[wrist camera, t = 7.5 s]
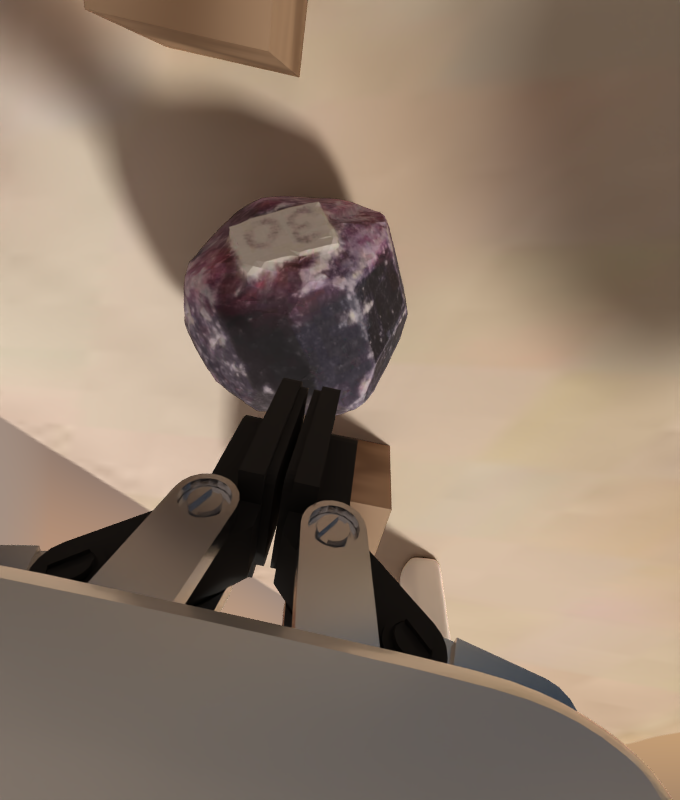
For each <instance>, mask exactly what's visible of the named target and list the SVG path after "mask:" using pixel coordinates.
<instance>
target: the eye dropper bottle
mask: <svg viewBox="0 0 680 800" xmlns="http://www.w3.org/2000/svg"><path fill="white" fill-rule="evenodd" d="M400 586H401V587H402V588H403V589H404V590H405V591H406V592H407V593H408V595H409V596H410V597H411V598H412V599H413V600H414V601H415V602H416V604H417V605H418V606H419V607H420V608H421V609H422V610H423V611H424V613H425V614H426V615H427V616H428V617H429V618H430V619H431V620H432V622H433V623H434V624H435V625H436V627H437V628H438V630H439V631H440V632H441V634H442V636H443V637H444V638H447V639H449V640H451V638H450V631H449V624H448V617H447V609H446V602H445V595H444V588H443V581H442V574H441V569H440V566H439V563H438V562H437V561H436V560H434V559H429V558H417V557H416V558H412V559H410V560H409V561H408V562H407V563H406V565H405V566H404V568H403V570H402V572H401V576H400Z"/></svg>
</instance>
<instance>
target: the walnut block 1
mask: <svg viewBox="0 0 680 800" xmlns="http://www.w3.org/2000/svg"><path fill="white" fill-rule="evenodd" d="M343 437H344V436H343ZM348 438H349V437H348ZM352 439H354V438H352ZM357 440H358V439H357ZM350 506H351V507H352V508H354V509H355V510H356V511H357V512H358V513H359V514H360V515H361V516H362V518H363V519H364V521H365V525H366V528H367V536H368V545H369V551H370V552H371V553H372V554H373V555H374V556H375V554H376V551H377V548H378V545H379V543H380V540H381V537H382V534H383V532H384V529H385V526H386V523H387V521H388V518H389V515H390V512H391V510H392V508H391V472H390V446H388V445H383V444H378V443H373V442H368V441H363V440H358V444H357V452H356V461H355V469H354V477H353V485H352V493H351V501H350Z"/></svg>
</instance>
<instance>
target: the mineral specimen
mask: <svg viewBox="0 0 680 800" xmlns="http://www.w3.org/2000/svg"><path fill="white" fill-rule="evenodd" d="M184 312H185V320H184V321H185V325H186V328H187V331H188V333H189V335H190V337H191V339H192V341H193V344H194V346H195V348H196V350H197V351H198V353H199V355H200V357H201V358H202V360H203V362H204V364H205V365H206V367H207V369H208V370H209V371H210V372H211V374H212V376H213V377H214V379H215V380H216V381H217V382H218V383H219V384H221V385H222V386H223V387H224V388H225V389H227V390H228V391H229V392H230V393H232V394H233V395H235V396H236V397H238V398H239V399H241V400H243V401H244V402H245V403H246V404H247V405H249V406H251V407H252V408H254V409H255V410H258V411H267V410H268V408H269V406H270V404H271V402H272V400H273V398H274V395H275V393H276V391H277V389H278V387H279V385H280V383H281V381H282V379H283V378H289V379H293V380H298V381H302V387H306V388H309V390H308V396H307V402H306V408H305V413H304V414H305V415H306V412H307V409H308V406H309V403H310V400H311V397H312V394H313V391H314V389H315V390H320V391H321V390H322V387H323V386H325V387H329V388H334V389H338V390H341V393H340V397H339V402H338V406H337V411H336V415H340V414H343V413H345V412H348V411H351V410H354V409H356V408H357V407H359V406H360V405H362V404H363V403H364V402H365V401H366V400H367V399H368V398H369V396H370V395H371V394H372V393H373V392H374V390H375V388H376V386H377V383H378V382H379V380H380V378H381V376H382V374H383V372H384V370H385V369H386V367H387V365H388V363H389V360H390V358H391V356H392V354H393V352H394V350H395V348H396V346H397V344H398V342H399V340H400V337H401V334H402V330H403V327H404V324H405V321H406V318H407V314H408V313H407V306H406V298H405V294H404V287H403V283H402V279H401V276H400V272H399V267H398V262H397V258H396V253H395V249H394V245H393V241H392V237H391V234H390V229H389V226H388V223H387V220H386V218H385V216H384V215H383V214H381V213H380V212H377V211H373V210H371V209H368V208H365V207H363V206H360V205H358V204H355V203H353V202H349V201H346V200H340V199H331V198H310V197H291V196H280V197H266V198H261V199H259V200H257V201H254V202H252V203H251V204H249V205H247V206H245V207H244V208H242V209H241V210H239V211H238V212H237V213H236V214H234V215H233V216H232V217H231V218H230V219H229V220H228V221H227V222H226V223H225V224H224V225H223V226H222V227H221V228H220V229H219V230H218V231H217V232H216V233H215V234H214V235H213V236H212V237H211V238H210V239H209V240H208V241H207V243H206V244H205V245H204V246H203V247H202V248H201V249H200V251H199V252H198V253H197V255H196V256H195V257H194V258H193V259H192V260H191V261H190V262H189V265H188V268H187V272H186V275H185V282H184Z"/></svg>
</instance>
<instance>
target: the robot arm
mask: <svg viewBox="0 0 680 800" xmlns="http://www.w3.org/2000/svg"><path fill="white" fill-rule="evenodd" d="M308 390H309V388H306V387H302V381H298V380H293V379H289V378H283V379H282V381H281V383H280V385H279V387H278V389H277V391H276V393H275V395H274V398H273V400H272V402H271V404H270V406H269V408H268V410H267V412H266V414H265V416H264V418H263V419H262V418H257V417H253V416H248V415H246V416H244V418H243V419H242V421H241V423H240V424H239V426H238V428H237V430H236V432H235V433H234V435H233V437H232V439H231V441H230V442H229V444H228V446H227V448H226V449H225V451H224V453H223V455H222V457H221V458H220V460H219V462H218V464H217V465H216V467H215V469H214V471H213V473H212V474H198V475H194V476H190V477H188V478H186V479H184V480H182V481H181V482H180V483H178V484H177V485H176V486H175V487H174V488H173V489H172V490H171V491H170V492H169V494H168V495H167V496H166V497H165V498H164V499H163V500H162V501H161V502H160V503H159V505H158V506H157V507H156V508H155V509H154V510H153V511H150V512H147V513H145V514H142V515H139V516H136V517H133V518H131V519H128V520H125V521H122V522H120V523H117V524H114V525H111V526H108V527H105V528H102V529H100V530H97V531H94V532H91V533H89V534H86V535H83V536H80V537H77V538H75V539H72V540H69V541H66V542H64V543H62V544H59V545H57V546H55V547H53V548H51V549H50V550H48V551H41V550H40V547H39V546H31V545H30V546H27V545H0V800H673V799H672V797H671V796H670V794H669V793H668V791H667V790H666V788H665V787H664V786H663V784H662V783H661V782H660V781H659V779H658V778H657V776H656V775H655V774H654V773H653V771H652V770H651V769H650V768H649V767H648V766H647V765H646V764H645V763H644V762H643V761H642V760H641V759H640V758H639V757H638V756H637V755H636V754H635V753H634V752H633V751H632V750H631V749H629V748H628V747H627V746H626V745H625V744H624V743H622V742H621V741H620V740H619V739H617V738H616V737H615V736H613V735H612V734H611V733H609V732H608V731H607V730H605V729H604V728H602V727H601V726H599V725H598V724H596V723H595V722H593V721H592V720H590V719H589V718H587V717H586V716H584V715H582V714H581V713H579V712H577V710H576V708H575V707H574V705H573V703H572V701H571V700H570V698H569V697H568V696H567V695H566V694H565V693H564V692H563V691H562V690H561V689H560V688H559V687H558V686H557V685H555V684H553V683H552V682H550V681H549V680H547V679H546V678H543V677H541V676H539V675H537V674H535V673H533V672H530V671H528V670H526V669H524V668H522V667H520V666H517V665H515V664H513V663H511V662H509V661H507V660H504V659H502V658H500V657H498V656H496V655H494V654H491V653H489V652H487V651H485V650H483V649H480V648H478V647H476V646H474V645H472V644H470V643H467V642H465V641H463V640H461V639H459V638H456V640H455V641H454V642H453V641H451V640H449V639H447V638H444V637H443V636H442V634H441V632H440V631H439V630H438V628H437V627H436V625H435V624H434V623H433V622H432V620H431V619H430V618H429V617H428V616H427V615H426V614H425V613H424V611H423V610H422V609H421V608H420V607H419V606H418V605H417V604H416V602H415V601H414V600H413V599H412V598H411V597H410V596H409V595H408V593H407V592H406V591H405V590H404V589H403V588H402V587H401V586H400V584H399V583H398V582H397V581H396V580H395V579H394V578H393V577H392V575H391V574H390V573H389V572H388V571H387V570H386V569H385V568H384V566H383V565H382V564H381V563H380V562H379V561H378V560H377V559H376V557H375V556H374V555H373V554H372V553H371V552H370V551H369V545H368V536H367V528H366V525H365V521H364V519H363V518H362V516H361V515H360V514H359V513H358V512H357V511H356V510H355V509H354V508H352V507H351V506H350V501H351V493H352V485H353V477H354V469H355V461H356V452H357V444H358V440H357V439H352V438H348V437H343V436H339V435H334V434H332V429H333V425H334V420H335V416H336V411H337V406H338V402H339V397H340V393H341V390H338V389H334V388H329V387H325V386H323V387H322V390H321V391H320V390H315V389H314V391H313V394H312V397H311V400H310V403H309V406H308V409H307V412H306V415H305V418H304V413H305V408H306V402H307V396H308ZM303 419H304V421H303ZM276 526H277V528H276ZM275 529H276V534H275V540H274V547H273V553H272V559H271V566H270V568H275V569H276V572H275V578H274V585H275V586H276V588H277V589H278V591H279V592H280V594H281V596H282V597H283V599H284V600H285V603H284V608H283V620H282V626H281V625H276V624H272V623H267V622H263V621H259V620H254V619H250V618H245V617H240V616H236V615H231V614H227V613H222V612H221V610H222V608H223V606H224V604H225V603H226V601H227V599H228V597H229V595H230V592H231V589H232V585H234V584H236V583H238V582H240V581H241V580H243V579H245V578H247V577H252V576H253V573H254V570H255V567H256V564H257V565H261V566H264V564H265V561H266V558H267V555H268V552H269V549H270V545H271V542H272V539H273V536H274V533H275Z"/></svg>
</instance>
